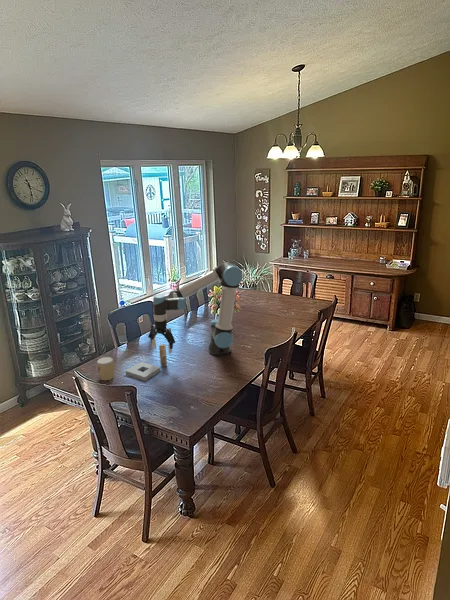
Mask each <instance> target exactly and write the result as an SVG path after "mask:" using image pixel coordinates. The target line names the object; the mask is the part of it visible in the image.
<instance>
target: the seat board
mask: <svg viewBox="0 0 450 600" xmlns="http://www.w3.org/2000/svg"><path fill="white" fill-rule="evenodd" d="M160 372H161V366H160V367H159V366H157V365H154V364H153V365H152V364H149V363H146V362H143V361H140V362H138V363H137V364H135V365H133V366H131V367H130V368H128V369H126V370H125V375H127V376H129V377H132V378H135V379H139V380H141V381H144V382H146V381H147V380H149V379H150V378H152V377H154V376H155V375H157V374H158V373H160Z"/></svg>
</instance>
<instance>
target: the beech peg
mask: <svg viewBox="0 0 450 600" xmlns="http://www.w3.org/2000/svg"><path fill="white" fill-rule="evenodd" d="M158 347H159V362H160V367H162V368H163V367H167V364H168V361H167V345H166V344H159V346H158Z"/></svg>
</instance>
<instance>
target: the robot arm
mask: <svg viewBox="0 0 450 600" xmlns="http://www.w3.org/2000/svg"><path fill="white" fill-rule="evenodd" d="M218 281H219V282H220V286H221V288H222V291H221V298H220V303H219V304H220V306H219V313H218V318H215V319H212V320H210V323H209V327H210V343H209V346H208V353H209V354H210V355H212V356H220V355H222V356H225V354H226V355H228V354H230V353H229V352H231V346H232V344H233V342H234V336H233V330H234V326H233V325H232V321H233V313H234V307H235V300H236V294H237V290H238V288H240V283H241V282H242V281H243V272H242V270H241V268H240V267H239V266H237V264H236V263H235V262H233V261H225V262H222V263H220V264H218V265H217V266H215V267H213V268H212V270H211V271H209V272H207V273H205V274H204V275H202V276H200V277H198V278H197V279H194V280H192V281H191V282H188V283H187V284H186V285H183V286H182V287H180V288H178V289H173V290H170V292H169V293H168V298H166V295H164V294H157V295H155V296H153V299H152V301H153V302H152V304H153V319H154V324H152V325H151V326H150V328H151V329H150V330H149V333H148V336H147V337H148V338H149V339H150V343H151V348H152V350H154V349H156V348H157V346H156V345H157V344H156V336H157V335H159V334H160V335H162V336H163V337H164V338H165V339H166V341H167V342H168V345H167V346H168V355H170V354H172V353H173V348H174V344H175V343H176V341H175V338H174V335H173V333H172V329H171V327H170V328H167V326H168V320H167V312H168V311H182V310H185V309H186V299H188V298H189V297H190V296H193V295H194V294H197V293H198V292H200V291H202V290H204V289H206V288H207V287H210V286H211V285H214V283H216V282H218Z"/></svg>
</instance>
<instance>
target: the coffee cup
mask: <svg viewBox="0 0 450 600" xmlns="http://www.w3.org/2000/svg"><path fill="white" fill-rule="evenodd" d="M96 364H97V368H98V374H99V378H100V380H101V381H102V380H109V381H111V380H113V379H112V378H114V359H113V357H109V356H105V357H104V356H103V357H100V358H99V359H97V362H96ZM110 379H111V380H110Z"/></svg>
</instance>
